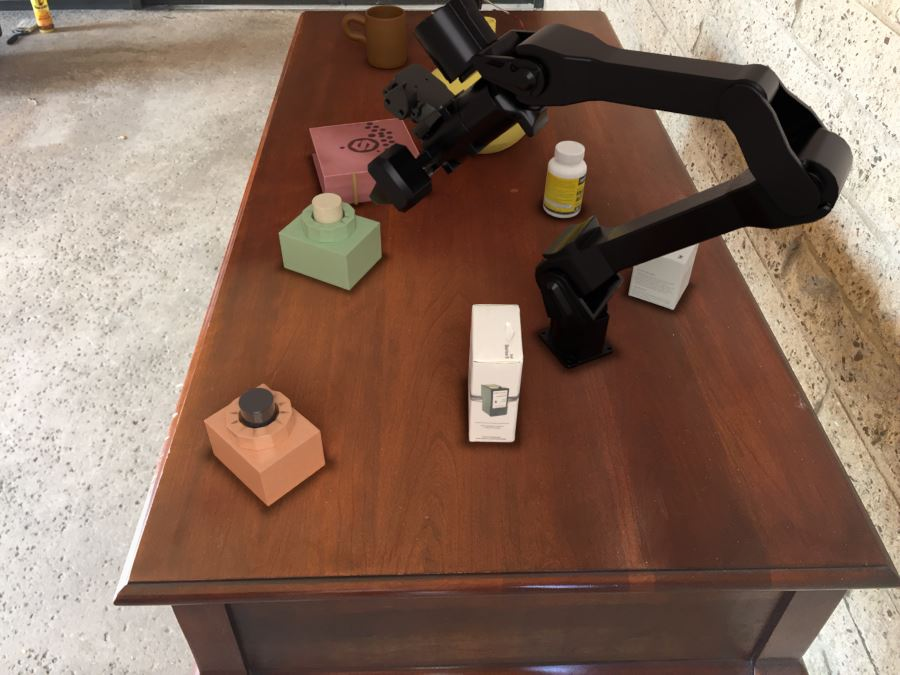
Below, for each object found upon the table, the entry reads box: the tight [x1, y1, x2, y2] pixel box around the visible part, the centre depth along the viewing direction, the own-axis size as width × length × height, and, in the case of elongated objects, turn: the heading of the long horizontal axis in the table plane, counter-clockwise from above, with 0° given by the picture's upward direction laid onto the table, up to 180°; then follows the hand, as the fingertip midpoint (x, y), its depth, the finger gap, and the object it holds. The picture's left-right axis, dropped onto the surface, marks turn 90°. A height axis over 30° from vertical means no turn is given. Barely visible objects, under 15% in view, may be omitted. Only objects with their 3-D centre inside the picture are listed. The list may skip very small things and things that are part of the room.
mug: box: [340, 4, 408, 70], centre depth 145 cm, size 12×8×9 cm, turn 92°
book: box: [308, 117, 424, 205], centre depth 116 cm, size 14×15×5 cm
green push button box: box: [278, 202, 383, 291], centre depth 99 cm, size 10×8×8 cm
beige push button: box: [311, 192, 343, 224], centre depth 96 cm, size 4×4×2 cm
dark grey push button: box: [238, 387, 277, 428], centre depth 73 cm, size 3×3×2 cm
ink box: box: [467, 303, 524, 443], centre depth 79 cm, size 9×5×12 cm, turn 0°
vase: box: [431, 16, 526, 155], centre depth 120 cm, size 18×18×19 cm
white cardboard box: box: [628, 243, 700, 311], centre depth 96 cm, size 6×6×7 cm
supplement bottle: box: [542, 140, 588, 219], centre depth 109 cm, size 5×5×10 cm
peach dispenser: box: [203, 383, 326, 507], centre depth 75 cm, size 9×7×7 cm
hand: (395, 181), depth 91 cm, fingers open, 9 cm apart
